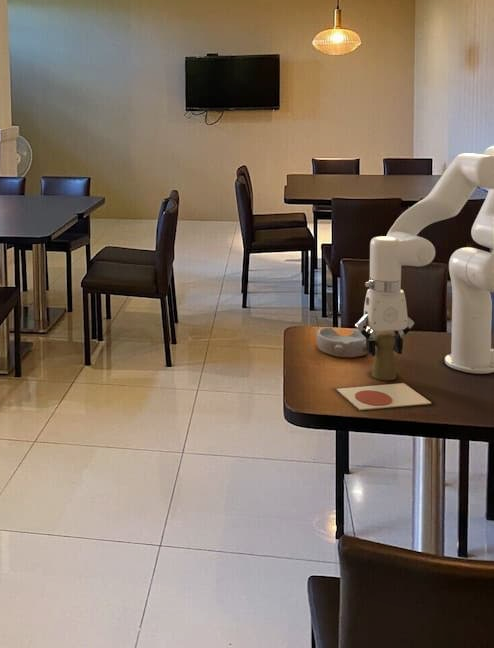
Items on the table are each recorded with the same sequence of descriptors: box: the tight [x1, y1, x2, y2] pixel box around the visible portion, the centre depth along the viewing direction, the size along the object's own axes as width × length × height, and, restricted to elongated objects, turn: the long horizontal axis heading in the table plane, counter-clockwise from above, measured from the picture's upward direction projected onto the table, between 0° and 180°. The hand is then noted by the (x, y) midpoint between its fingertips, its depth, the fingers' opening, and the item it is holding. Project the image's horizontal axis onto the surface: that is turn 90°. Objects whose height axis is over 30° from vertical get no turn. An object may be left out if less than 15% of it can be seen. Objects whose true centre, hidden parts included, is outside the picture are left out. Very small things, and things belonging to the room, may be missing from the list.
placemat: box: [336, 382, 433, 411], centre depth 177 cm, size 18×12×1 cm, turn 99°
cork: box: [371, 332, 397, 381], centre depth 189 cm, size 6×6×11 cm
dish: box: [316, 326, 368, 358], centre depth 208 cm, size 14×14×5 cm
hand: (384, 352), depth 189 cm, fingers open, 6 cm apart
